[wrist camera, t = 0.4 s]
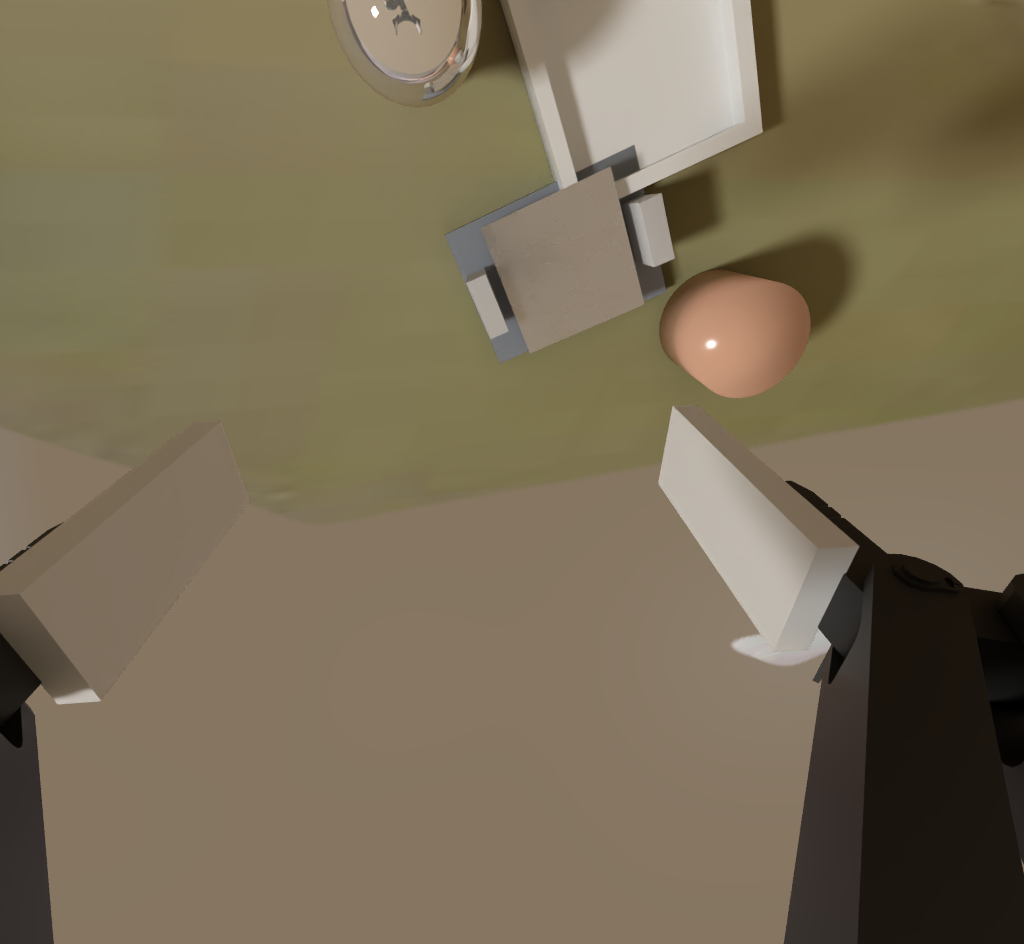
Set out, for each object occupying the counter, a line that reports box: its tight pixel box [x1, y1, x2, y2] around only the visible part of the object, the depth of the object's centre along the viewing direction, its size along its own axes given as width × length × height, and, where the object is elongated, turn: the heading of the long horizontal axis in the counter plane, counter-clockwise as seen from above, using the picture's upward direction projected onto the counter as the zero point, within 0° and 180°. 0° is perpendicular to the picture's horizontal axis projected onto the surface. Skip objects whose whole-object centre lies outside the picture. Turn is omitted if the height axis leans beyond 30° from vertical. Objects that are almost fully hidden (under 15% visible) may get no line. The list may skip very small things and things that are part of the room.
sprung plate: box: [481, 167, 644, 353], centre depth 32 cm, size 9×9×1 cm
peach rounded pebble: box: [660, 269, 811, 398], centre depth 34 cm, size 8×8×7 cm
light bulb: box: [327, 0, 483, 108], centre depth 23 cm, size 7×7×12 cm
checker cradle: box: [445, 145, 675, 363], centre depth 32 cm, size 10×14×5 cm
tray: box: [500, 0, 763, 199], centre depth 28 cm, size 13×13×2 cm
